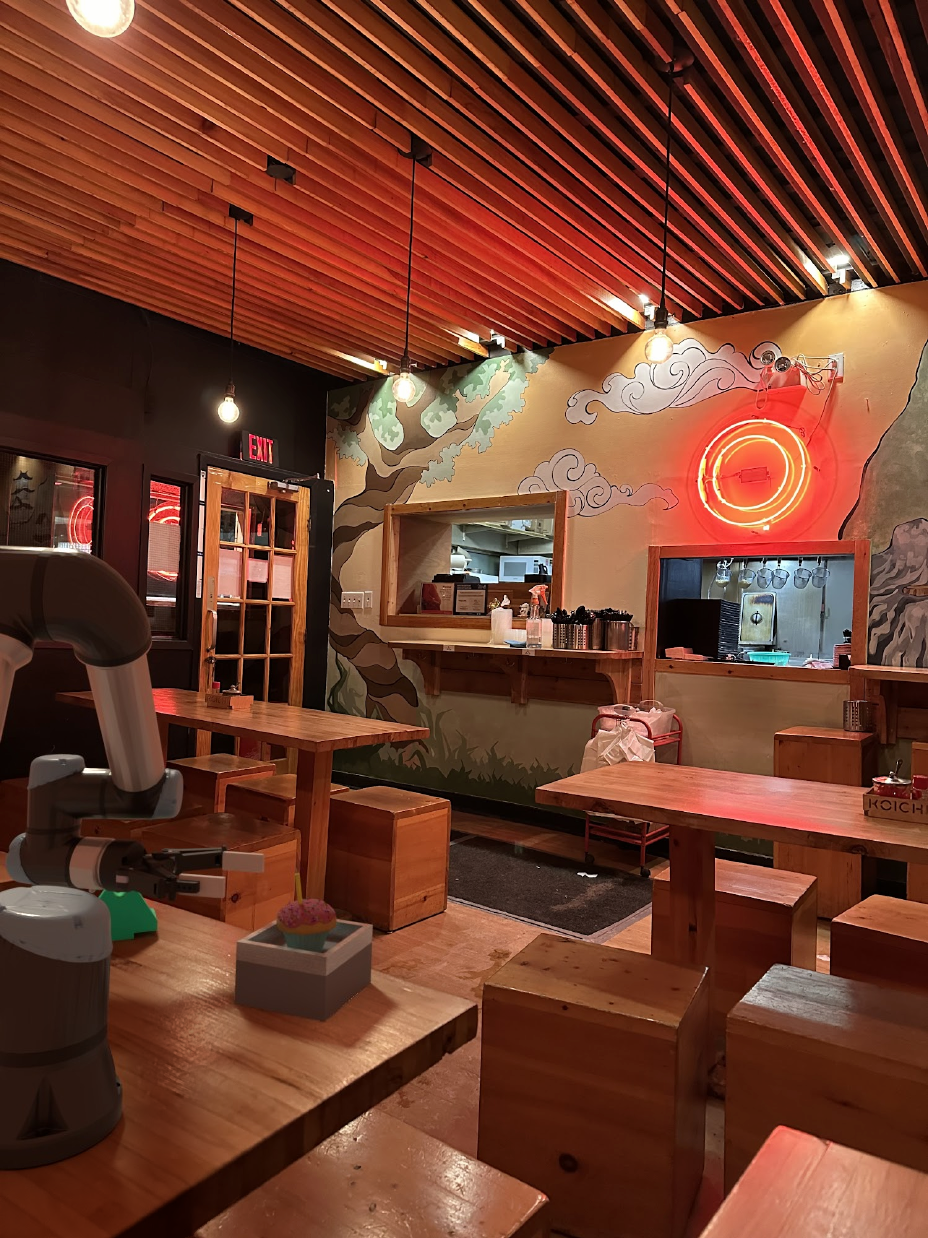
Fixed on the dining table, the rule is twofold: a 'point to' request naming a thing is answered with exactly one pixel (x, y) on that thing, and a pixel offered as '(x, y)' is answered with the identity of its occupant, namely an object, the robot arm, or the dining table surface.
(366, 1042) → the dining table surface
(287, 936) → the cupcake
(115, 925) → the camera mount
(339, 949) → the collar
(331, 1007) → the gray open box
